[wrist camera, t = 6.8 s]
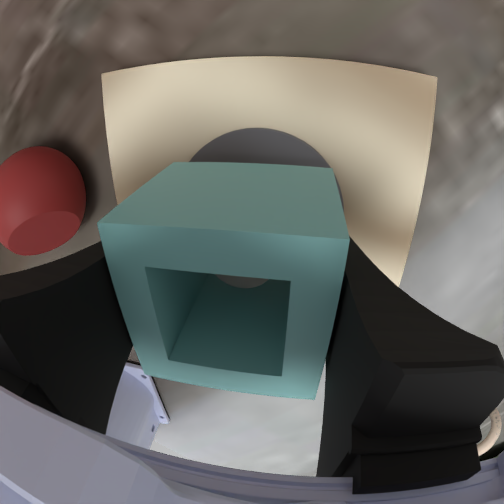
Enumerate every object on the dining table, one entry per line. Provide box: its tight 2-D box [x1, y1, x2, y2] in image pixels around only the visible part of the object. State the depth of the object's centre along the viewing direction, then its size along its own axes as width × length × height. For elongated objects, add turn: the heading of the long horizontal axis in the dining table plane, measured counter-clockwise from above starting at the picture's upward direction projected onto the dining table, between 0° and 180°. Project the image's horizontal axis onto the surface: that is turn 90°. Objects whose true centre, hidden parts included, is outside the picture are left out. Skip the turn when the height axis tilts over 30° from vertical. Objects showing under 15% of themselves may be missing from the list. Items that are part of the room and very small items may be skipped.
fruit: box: [0, 146, 86, 255], centre depth 14 cm, size 6×6×8 cm
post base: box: [102, 56, 437, 288], centre depth 13 cm, size 13×14×6 cm
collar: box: [97, 162, 350, 400], centre depth 10 cm, size 6×6×5 cm
